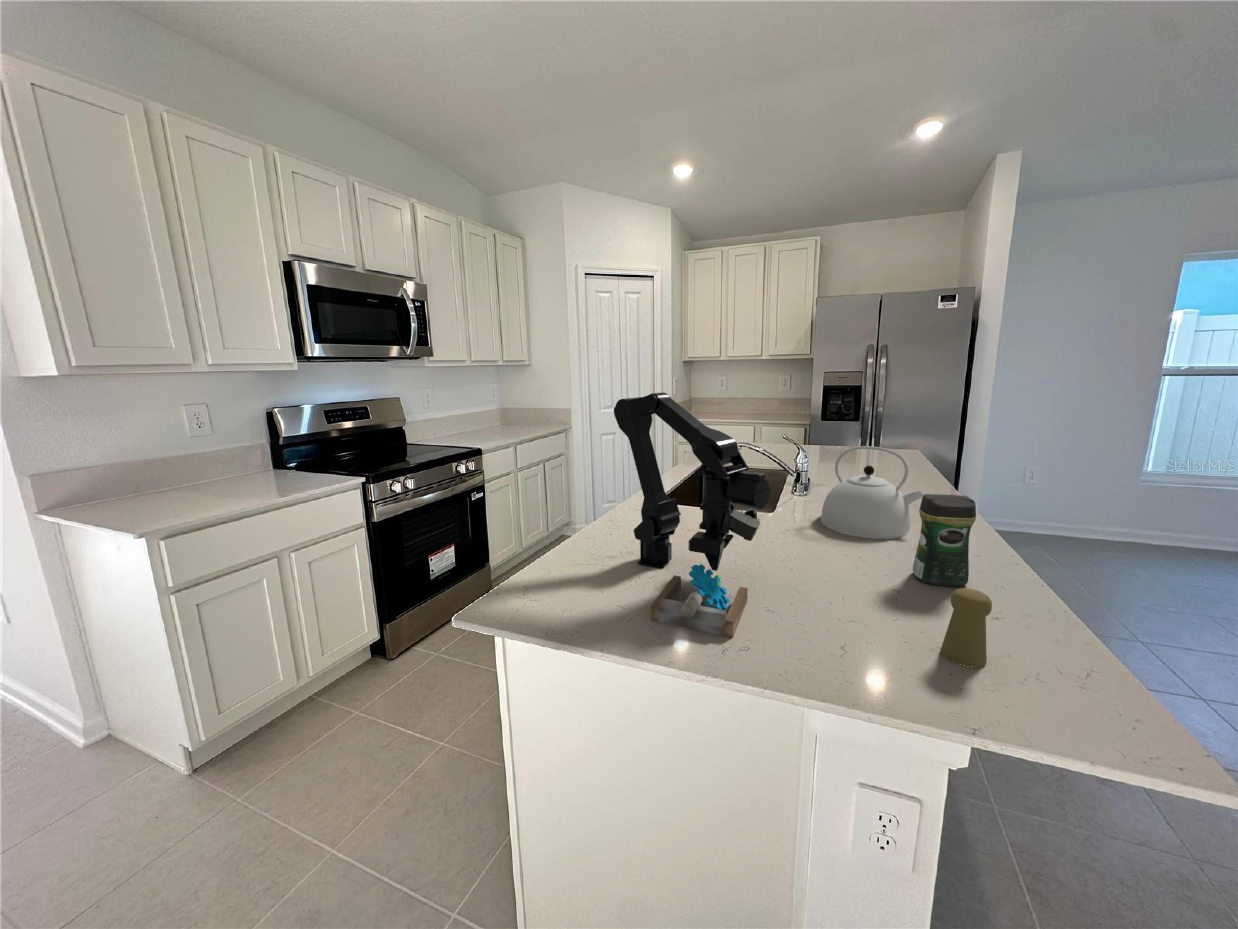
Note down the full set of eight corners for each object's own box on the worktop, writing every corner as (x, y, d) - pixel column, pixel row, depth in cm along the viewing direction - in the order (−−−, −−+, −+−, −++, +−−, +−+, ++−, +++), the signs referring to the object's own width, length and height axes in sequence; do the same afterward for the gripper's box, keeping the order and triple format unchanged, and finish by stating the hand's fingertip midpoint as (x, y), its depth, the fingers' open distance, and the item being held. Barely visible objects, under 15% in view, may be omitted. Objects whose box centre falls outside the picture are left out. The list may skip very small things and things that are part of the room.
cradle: (647, 624, 88) (647, 596, 86) (673, 588, 101) (674, 564, 100) (730, 643, 81) (731, 613, 80) (747, 602, 95) (748, 576, 94)
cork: (931, 646, 80) (939, 584, 77) (966, 644, 80) (975, 582, 78) (959, 669, 74) (969, 603, 71) (996, 666, 74) (1007, 600, 72)
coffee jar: (956, 573, 106) (968, 491, 102) (972, 590, 98) (985, 502, 94) (907, 569, 108) (916, 489, 104) (919, 585, 101) (929, 499, 97)
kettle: (922, 521, 139) (931, 444, 134) (918, 547, 121) (928, 458, 116) (829, 508, 153) (834, 437, 148) (812, 529, 134) (818, 449, 129)
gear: (719, 615, 87) (686, 568, 90) (696, 631, 90) (664, 585, 93) (739, 597, 97) (708, 556, 100) (718, 612, 99) (688, 571, 102)
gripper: (748, 517, 87) (744, 597, 90) (765, 491, 103) (762, 559, 107) (688, 509, 91) (686, 585, 95) (714, 486, 108) (712, 551, 111)
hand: (714, 569), depth 102 cm, fingers closed
